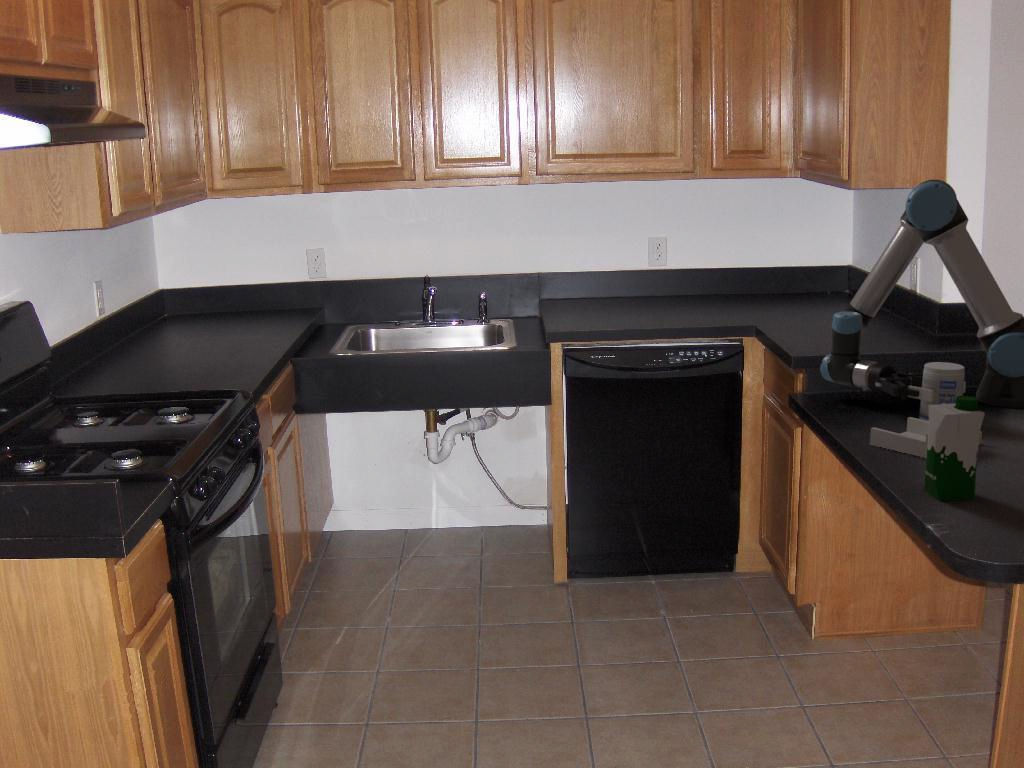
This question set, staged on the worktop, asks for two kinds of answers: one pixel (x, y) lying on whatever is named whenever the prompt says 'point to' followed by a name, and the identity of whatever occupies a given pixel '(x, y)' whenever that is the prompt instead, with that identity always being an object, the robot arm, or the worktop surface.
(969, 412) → the milk carton
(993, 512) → the worktop surface
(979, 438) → the clip
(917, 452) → the end holder
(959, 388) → the supplement tub
